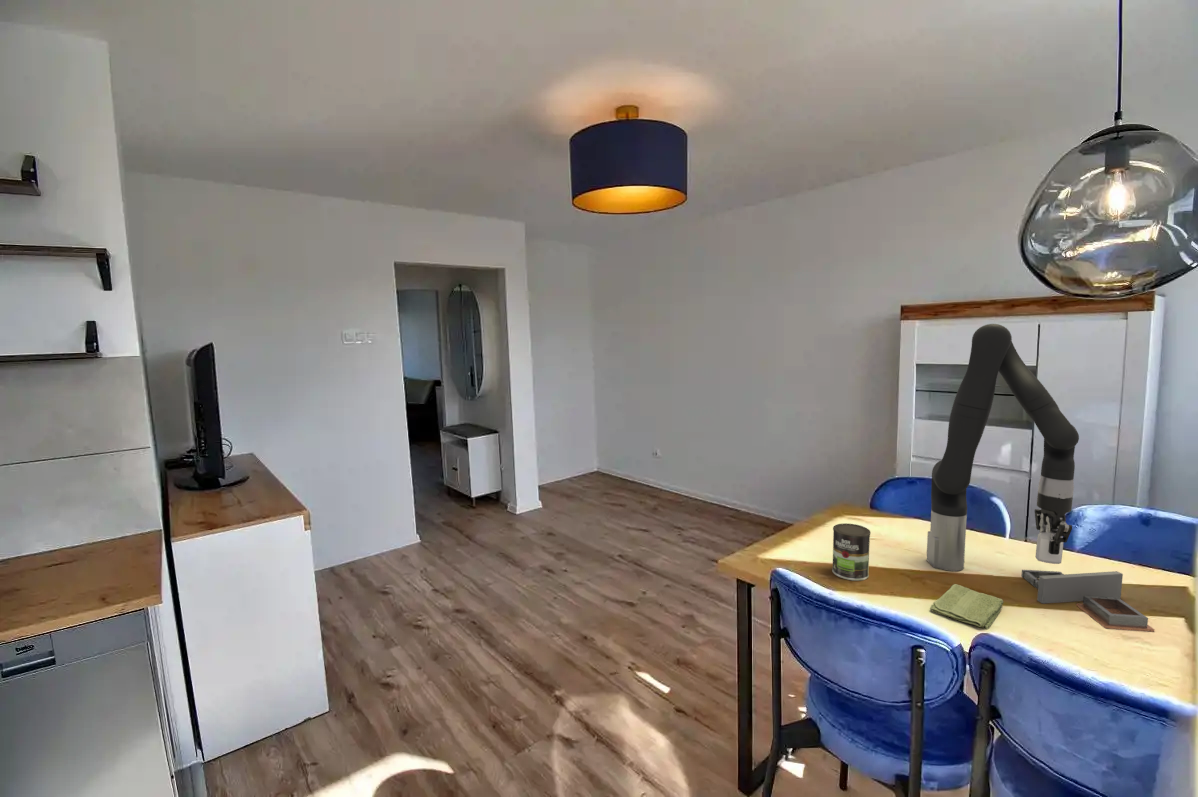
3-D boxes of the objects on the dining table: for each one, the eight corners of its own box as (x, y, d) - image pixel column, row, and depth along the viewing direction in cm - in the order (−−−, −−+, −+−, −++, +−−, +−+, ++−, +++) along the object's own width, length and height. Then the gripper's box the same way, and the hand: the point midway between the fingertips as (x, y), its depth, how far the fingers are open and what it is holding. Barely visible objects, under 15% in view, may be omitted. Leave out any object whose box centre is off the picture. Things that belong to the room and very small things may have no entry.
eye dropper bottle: (1058, 566, 150) (1062, 525, 148) (1033, 559, 154) (1037, 519, 153) (1063, 562, 152) (1067, 522, 151) (1038, 555, 157) (1042, 516, 155)
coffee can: (862, 584, 158) (864, 538, 156) (827, 574, 165) (827, 530, 163) (873, 571, 165) (875, 528, 163) (839, 562, 172) (839, 520, 170)
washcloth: (927, 613, 142) (928, 602, 141) (951, 591, 153) (952, 580, 152) (986, 634, 132) (987, 622, 131) (1007, 608, 143) (1008, 597, 142)
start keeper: (1036, 588, 151) (1036, 581, 151) (1021, 575, 159) (1021, 569, 159) (1077, 591, 149) (1077, 584, 149) (1059, 578, 157) (1060, 571, 157)
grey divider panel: (1042, 603, 144) (1044, 578, 143) (1037, 600, 145) (1039, 576, 144) (1120, 598, 145) (1122, 573, 144) (1114, 595, 146) (1116, 571, 145)
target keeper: (1105, 628, 131) (1106, 616, 131) (1076, 605, 142) (1077, 594, 142) (1154, 631, 129) (1155, 619, 129) (1121, 608, 140) (1122, 597, 139)
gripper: (1026, 484, 158) (1020, 540, 161) (1054, 500, 145) (1048, 560, 147) (1055, 485, 157) (1049, 541, 159) (1087, 501, 143) (1080, 562, 145)
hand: (1049, 550), depth 153 cm, fingers closed on eye dropper bottle, 3 cm apart
